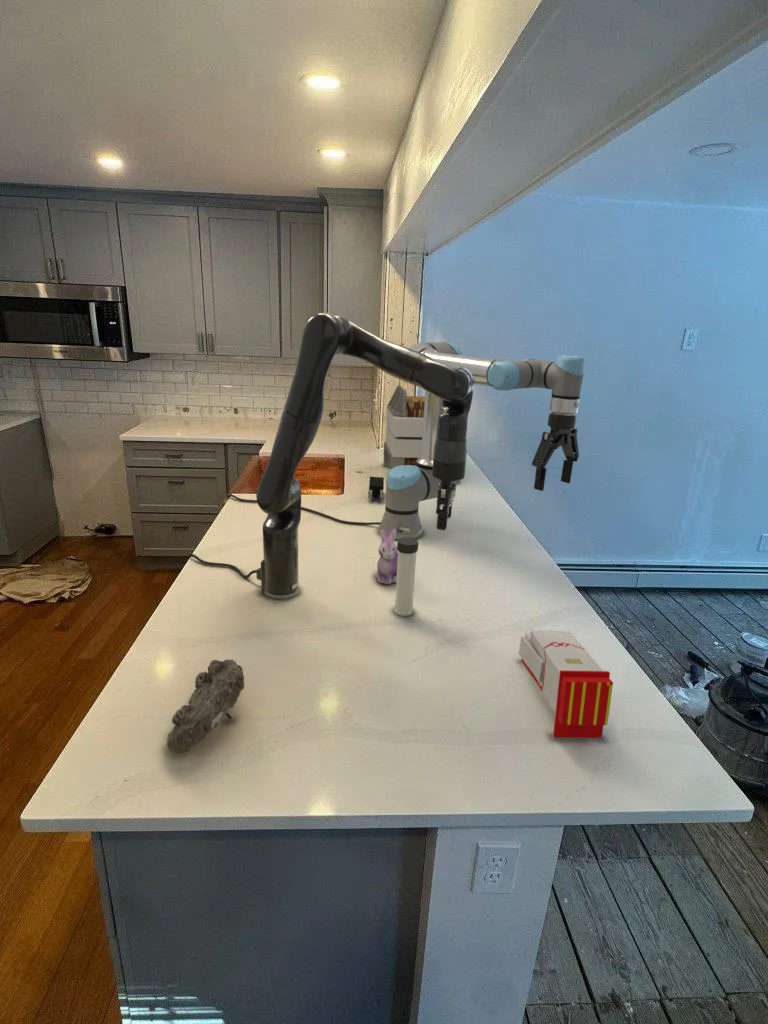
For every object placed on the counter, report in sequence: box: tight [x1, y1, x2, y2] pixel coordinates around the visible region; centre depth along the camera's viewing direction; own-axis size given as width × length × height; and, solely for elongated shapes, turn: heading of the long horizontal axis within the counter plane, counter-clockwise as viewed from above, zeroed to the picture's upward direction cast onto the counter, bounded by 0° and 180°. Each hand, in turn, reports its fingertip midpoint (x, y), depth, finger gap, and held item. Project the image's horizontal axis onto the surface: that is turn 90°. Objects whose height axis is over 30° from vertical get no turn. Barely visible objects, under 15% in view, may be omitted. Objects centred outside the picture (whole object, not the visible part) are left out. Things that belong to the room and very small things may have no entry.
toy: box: [518, 629, 614, 739], centre depth 118 cm, size 12×13×30 cm
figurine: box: [375, 529, 398, 585], centre depth 164 cm, size 9×10×15 cm
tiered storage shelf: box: [383, 384, 461, 484], centre depth 268 cm, size 34×33×41 cm
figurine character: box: [367, 476, 385, 503], centre depth 235 cm, size 7×8×15 cm
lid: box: [396, 537, 419, 554], centre depth 143 cm, size 5×5×2 cm
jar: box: [394, 551, 417, 617], centre depth 146 cm, size 5×5×20 cm
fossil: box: [166, 658, 245, 754], centre depth 106 cm, size 22×10×15 cm
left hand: (443, 523), depth 135 cm, fingers open, 8 cm apart
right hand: (552, 485), depth 166 cm, fingers open, 13 cm apart
